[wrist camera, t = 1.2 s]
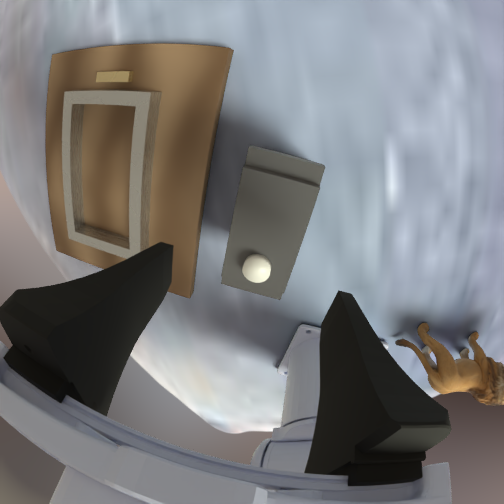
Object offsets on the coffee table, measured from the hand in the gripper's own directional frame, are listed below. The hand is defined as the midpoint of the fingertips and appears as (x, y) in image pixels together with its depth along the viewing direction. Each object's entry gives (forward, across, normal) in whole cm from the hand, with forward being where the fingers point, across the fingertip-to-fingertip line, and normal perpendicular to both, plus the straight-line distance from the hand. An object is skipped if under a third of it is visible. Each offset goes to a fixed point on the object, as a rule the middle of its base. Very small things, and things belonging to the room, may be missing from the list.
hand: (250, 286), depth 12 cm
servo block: (+10, 0, 0) cm, 10 cm away
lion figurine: (+10, -23, +8) cm, 26 cm away
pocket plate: (+9, +13, 0) cm, 16 cm away
